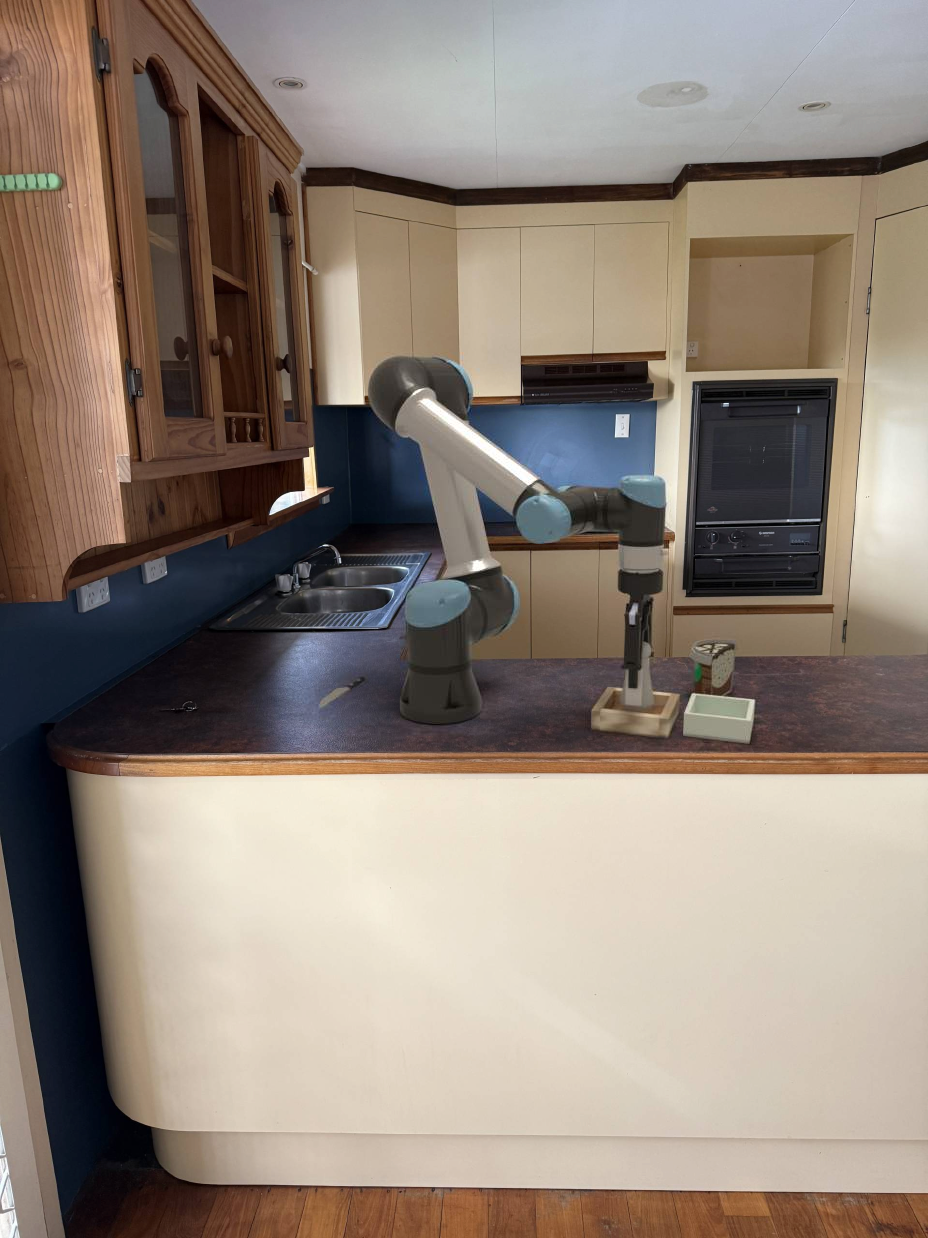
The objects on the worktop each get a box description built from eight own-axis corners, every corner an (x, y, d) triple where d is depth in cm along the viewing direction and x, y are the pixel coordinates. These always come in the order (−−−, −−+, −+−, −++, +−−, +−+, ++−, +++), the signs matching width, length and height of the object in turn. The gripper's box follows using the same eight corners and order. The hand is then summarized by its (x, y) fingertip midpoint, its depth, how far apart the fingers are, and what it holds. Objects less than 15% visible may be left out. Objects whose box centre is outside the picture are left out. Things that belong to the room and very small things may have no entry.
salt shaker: (626, 705, 151) (628, 636, 148) (657, 710, 148) (660, 640, 145) (615, 716, 146) (616, 644, 143) (646, 721, 143) (649, 649, 140)
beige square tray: (591, 729, 144) (591, 710, 143) (607, 704, 155) (608, 686, 155) (667, 739, 139) (668, 719, 138) (678, 712, 151) (679, 694, 150)
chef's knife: (304, 711, 157) (317, 712, 156) (303, 705, 157) (317, 706, 156) (353, 679, 174) (366, 680, 173) (353, 674, 174) (365, 675, 173)
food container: (704, 682, 166) (706, 634, 164) (734, 688, 162) (737, 639, 160) (677, 700, 157) (679, 649, 155) (708, 706, 153) (710, 654, 151)
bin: (682, 735, 140) (684, 713, 139) (691, 714, 150) (692, 693, 149) (749, 743, 136) (750, 720, 135) (753, 721, 146) (754, 699, 145)
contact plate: (603, 722, 145) (603, 719, 144) (615, 704, 153) (615, 701, 153) (658, 729, 141) (658, 726, 141) (667, 710, 150) (667, 707, 149)
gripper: (653, 580, 131) (649, 719, 136) (671, 559, 147) (667, 684, 153) (606, 578, 133) (603, 714, 139) (629, 558, 150) (626, 680, 156)
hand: (636, 698), depth 146 cm, fingers closed on salt shaker, 6 cm apart
